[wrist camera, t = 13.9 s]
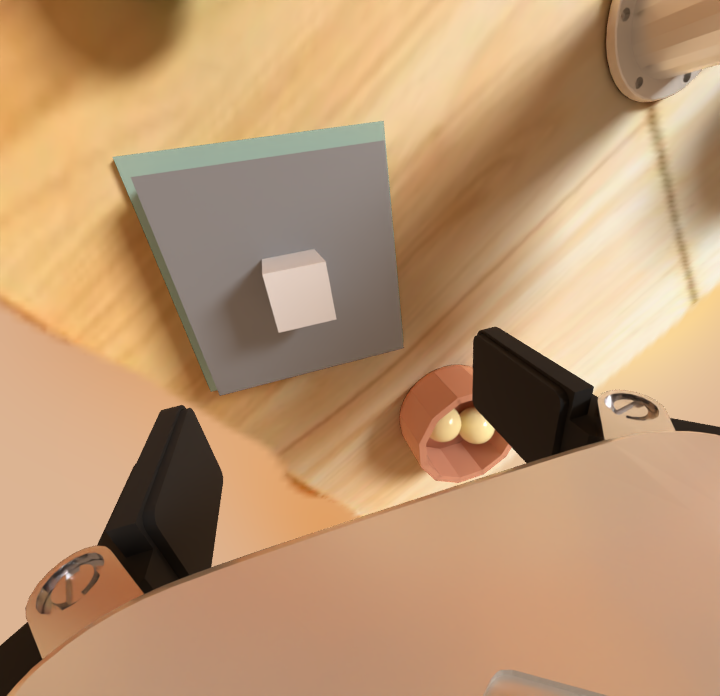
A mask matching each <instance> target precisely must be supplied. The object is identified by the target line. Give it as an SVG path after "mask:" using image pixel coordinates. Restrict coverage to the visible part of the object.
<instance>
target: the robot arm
mask: <svg viewBox="0 0 720 696" xmlns="http://www.w3.org/2000/svg"><path fill="white" fill-rule="evenodd" d="M606 48H607V60H608V64H609V68H610V73H611V75H612V77H613V80H614V82H615V84H616V86H617V87H618V88H619V90H620V91H621V92H622V93H623V94H624V95H625V96H627V97H628V98H629V99H631V100H634V101H637V102H652V101H656V100H661V99H665V98H667V97H670V96H672V95H674V94H676V93H677V92H679V91H680V90H682V89H683V88H685V87H686V86H687V85H688V84H689V83H690V82H691V81H692V80H693V79H695V77H696V76H697V75H698V74H699V73H700V72H701V70H702V69H705V68H708V67H712V66H716V65H720V0H612V3H611V7H610V12H609V18H608V23H607V37H606ZM593 388H594V387H593V386H592V385H590V384H589V383H587V382H585V381H584V380H582V379H581V378H579V377H577V376H576V375H574V374H572V373H571V372H569V371H568V370H566V369H564V368H563V367H561V366H559V365H558V364H556V363H555V362H553V361H551V360H550V359H548V358H547V357H545V356H543V355H542V354H540V353H538V352H537V351H535V350H534V349H532V348H530V347H529V346H527V345H525V344H524V343H522V342H521V341H519V340H517V339H516V338H514V337H513V336H511V335H509V334H508V333H506V332H504V331H503V330H501V329H500V328H498V327H492V328H488V329H484V330H480V331H479V332H478V334H477V336H475V337H474V341H473V386H472V401H473V404H474V407H475V408H476V410H477V411H478V412H479V413H480V414H481V415H482V416H483V417H484V418H485V419H486V420H487V421H488V422H489V423H490V425H491V426H492V427H493V428H494V429H495V430H496V431H497V432H498V433H499V434H500V435H501V436H502V437H503V438H504V440H505V441H506V442H507V443H508V444H509V445H510V446H511V447H512V448H513V449H514V450H515V451H516V452H517V453H518V454H519V456H520V457H521V458H522V459H523V460H525V462H526V464H523V465H520V466H517V467H514V468H511V469H507V470H504V471H501V472H498V473H495V474H492V475H489V476H486V477H482V478H479V479H476V480H473V481H470V482H467V483H464V484H461V485H457V486H454V487H451V488H448V489H445V490H442V491H439V492H436V493H433V494H430V495H427V496H424V497H421V498H417V499H414V500H411V501H408V502H405V503H402V504H399V505H396V506H393V507H390V508H387V509H384V510H381V511H378V512H375V513H372V514H368V515H365V516H362V517H359V518H356V519H354V520H350V521H347V522H344V523H341V524H338V525H336V526H332V527H330V528H326V529H323V530H320V531H317V532H314V533H311V534H308V535H305V536H302V537H300V538H296V539H293V540H290V541H287V542H284V543H281V544H278V545H275V546H272V547H269V548H266V549H263V550H260V551H257V552H254V553H251V554H249V555H246V556H243V557H240V558H237V559H234V560H231V561H229V562H226V563H223V564H220V565H217V566H214V567H211V564H212V557H213V550H214V542H215V536H216V529H217V521H218V515H219V507H220V500H221V493H222V486H223V476H222V472H221V469H220V467H219V465H218V463H217V460H216V458H215V456H214V454H213V452H212V450H211V448H210V445H209V443H208V441H207V439H206V437H205V435H204V433H203V431H202V428H201V426H200V424H199V422H198V420H197V418H196V415H195V413H194V411H193V410H192V409H191V408H188V409H186V408H185V407H184V406H183V405H180V406H176V407H172V408H169V409H164V410H161V412H160V413H159V415H158V418H157V420H156V422H155V424H154V427H153V428H152V431H151V433H150V435H149V437H148V439H147V441H146V444H145V446H144V448H143V450H142V452H141V455H140V457H139V459H138V461H137V463H136V464H135V466H134V467H133V469H132V471H131V473H130V476H129V478H128V480H127V482H126V485H125V487H124V489H123V491H122V493H121V495H120V497H119V499H118V502H117V504H116V506H115V508H114V510H113V512H112V514H111V517H110V519H109V521H108V523H107V525H106V528H105V530H104V532H103V534H102V536H101V538H100V540H99V543H98V545H97V546H92V547H88V548H85V549H82V550H80V551H78V552H76V553H74V554H72V555H71V556H69V557H67V558H66V559H64V560H63V561H62V562H60V563H59V564H58V565H57V566H55V567H54V568H53V569H52V570H51V571H49V572H48V573H47V574H46V576H45V577H44V578H43V579H42V580H41V581H40V582H39V583H38V585H37V586H36V588H35V589H34V591H33V592H32V594H31V595H30V597H29V600H28V603H27V606H26V619H27V621H28V622H27V623H26V624H25V625H24V626H23V627H21V628H20V629H19V630H18V631H17V632H16V633H15V634H13V635H12V636H11V637H10V638H9V639H7V640H6V641H5V642H4V643H3V644H2V645H1V646H0V696H720V427H716V426H711V425H705V424H700V423H695V422H689V421H684V420H678V419H672V418H670V417H669V415H668V413H667V411H666V409H665V408H664V406H663V405H662V404H660V403H659V402H658V401H656V400H654V399H653V398H651V397H649V396H646V395H643V394H640V393H637V392H632V391H627V390H612V391H606V392H604V393H602V394H601V395H600V396H599V397H597V396H595V395H593V394H592V393H593Z"/></svg>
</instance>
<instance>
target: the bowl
mask: <svg viewBox="0 0 720 696" xmlns="http://www.w3.org/2000/svg"><path fill="white" fill-rule="evenodd" d="M472 386H473V368H472V367H470V366H466V365H449V366H445V367H442V368H439V369H436V370H434V371H432V372H430V373H429V374H427V375H425V376H424V377H423V378H421V379H420V380H419V381H418V382H417V383H416V384H415V385H414V386H413V387H412V388H411V390H410V391H409V392H408V394H407V395H406V397H405V399H404V401H403V404H402V406H401V410H400V426H401V429H402V435H403V437H404V439H405V440H406V442H407V444H408V446H409V447H410V449H411V451H412V453H413V454H414V456H415V458H416V459H417V461H418V463H419V465H420V466H421V468H422V469H424V470H425V471H426V472H427V473H428V474H429V475H430V476H431V477H432V478H433V479H434V480H436V481H445V482H455V483H459V482H462V481H465V480H468V479H471V478H474V477H477V476H480V475H483V474H485V473H486V472H487V471H488V470H490V469H491V468H492V467H493V466H495V465H496V464H497V463H499V462H500V461H501V460H502V459H504V458H505V457H506V456H507V454H508V452H509V451H510V449H511V448H512V447H511V446H510V445H509V444H508V443H507V442H506V441H505V440H504V438H503V437H502V436H501V435H500V434H499V433H498V432H497V431H496V430H495V429H494V428H493V427H492V426H491V425H490V423H489V422H488V421H487V420H486V419H485V418H484V417H483V416H482V415H481V414H480V413H479V412H478V411H477V410H476V408H475V407H474V404H473V401H472Z"/></svg>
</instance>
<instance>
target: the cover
mask: <svg viewBox="0 0 720 696" xmlns="http://www.w3.org/2000/svg"><path fill="white" fill-rule="evenodd" d="M131 180H132V182H133V184H134V187H135V189H136V192H137V194H138V197H139V199H140V202H141V204H142V207H143V209H144V211H145V214H146V216H147V219H148V221H149V224H150V226H151V229H152V231H153V233H154V236H155V238H156V241H157V243H158V246H159V248H160V251H161V253H162V255H163V258H164V260H165V263H166V265H167V268H168V270H169V273H170V275H171V278H172V280H173V282H174V285H175V287H176V290H177V292H178V295H179V297H180V300H181V302H182V304H183V307H184V309H185V312H186V314H187V317H188V319H189V322H190V324H191V326H192V329H193V331H194V334H195V336H196V339H197V341H198V344H199V346H200V348H201V351H202V353H203V356H204V358H205V361H206V363H207V366H208V368H209V371H210V373H211V375H212V378H213V380H214V383H215V385H216V388H217V390H218V393H219V395H220V396H221V395H225V394H229V393H232V392H236V391H240V390H244V389H248V388H252V387H256V386H259V385H263V384H267V383H271V382H275V381H279V380H282V379H286V378H290V377H294V376H298V375H302V374H306V373H309V372H313V371H317V370H321V369H325V368H329V367H333V366H336V365H340V364H344V363H348V362H352V361H356V360H360V359H363V358H367V357H371V356H375V355H379V354H383V353H387V352H390V351H394V350H398V349H402V348H404V347H403V336H402V325H401V314H400V303H399V293H398V282H397V271H396V260H395V249H394V238H393V227H392V217H391V206H390V195H389V184H388V173H387V162H386V151H385V140H383V141H376V142H369V143H362V144H355V145H348V146H341V147H334V148H328V149H321V150H314V151H307V152H300V153H293V154H286V155H279V156H273V157H266V158H259V159H252V160H245V161H238V162H231V163H224V164H218V165H211V166H204V167H197V168H190V169H183V170H176V171H169V172H163V173H156V174H149V175H142V176H135V177H131Z"/></svg>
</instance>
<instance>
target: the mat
mask: <svg viewBox="0 0 720 696" xmlns="http://www.w3.org/2000/svg"><path fill="white" fill-rule="evenodd" d="M383 140H385V132H384V121H379V122H372V123H364V124H357V125H349V126H342V127H334V128H327V129H319V130H312V131H304V132H297V133H290V134H282V135H275V136H267V137H260V138H252V139H245V140H237V141H230V142H222V143H215V144H207V145H200V146H192V147H185V148H177V149H170V150H162V151H155V152H147V153H140V154H132V155H125V156H117V157H113V159H114V162H115V164H116V166H117V169H118V171H119V173H120V176H121V178H122V181H123V183H124V185H125V188H126V190H127V193H128V195H129V197H130V200H131V202H132V205H133V207H134V209H135V212H136V214H137V216H138V219H139V221H140V224H141V226H142V228H143V231H144V233H145V236H146V238H147V240H148V243H149V245H150V247H151V250H152V252H153V255H154V257H155V259H156V262H157V264H158V267H159V269H160V271H161V274H162V276H163V279H164V281H165V283H166V286H167V288H168V290H169V293H170V295H171V298H172V300H173V302H174V305H175V307H176V310H177V312H178V314H179V317H180V319H181V321H182V324H183V326H184V329H185V331H186V333H187V336H188V338H189V341H190V343H191V345H192V348H193V350H194V353H195V355H196V357H197V360H198V362H199V364H200V367H201V369H202V372H203V374H204V376H205V379H206V381H207V384H208V386H209V388H210V391H211V392H212V391H216V390H217V388H216V385H215V383H214V380H213V378H212V375H211V373H210V371H209V368H208V366H207V363H206V361H205V358H204V356H203V353H202V351H201V348H200V346H199V344H198V341H197V339H196V336H195V334H194V331H193V329H192V326H191V324H190V322H189V319H188V317H187V314H186V312H185V309H184V307H183V304H182V302H181V300H180V297H179V295H178V292H177V290H176V287H175V285H174V282H173V280H172V278H171V275H170V273H169V270H168V268H167V265H166V263H165V260H164V258H163V255H162V253H161V251H160V248H159V246H158V243H157V241H156V238H155V236H154V233H153V231H152V229H151V226H150V224H149V221H148V219H147V216H146V214H145V211H144V209H143V207H142V204H141V202H140V199H139V197H138V194H137V192H136V189H135V187H134V184H133V182H132V180H131V177H135V176H142V175H149V174H156V173H163V172H169V171H176V170H183V169H190V168H197V167H204V166H211V165H218V164H224V163H231V162H238V161H245V160H252V159H259V158H266V157H273V156H279V155H286V154H293V153H300V152H307V151H314V150H321V149H328V148H334V147H341V146H348V145H355V144H362V143H369V142H376V141H383ZM385 151H386V143H385ZM386 162H387V154H386ZM387 173H388V165H387ZM388 184H389V176H388ZM389 195H390V187H389ZM390 206H391V198H390ZM391 217H392V210H391ZM392 227H393V221H392ZM393 238H394V232H393ZM394 249H395V243H394ZM395 260H396V254H395ZM396 271H397V265H396ZM397 282H398V276H397ZM398 293H399V287H398ZM399 303H400V298H399ZM400 314H401V309H400ZM401 325H402V321H401ZM402 336H403V332H402Z"/></svg>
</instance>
